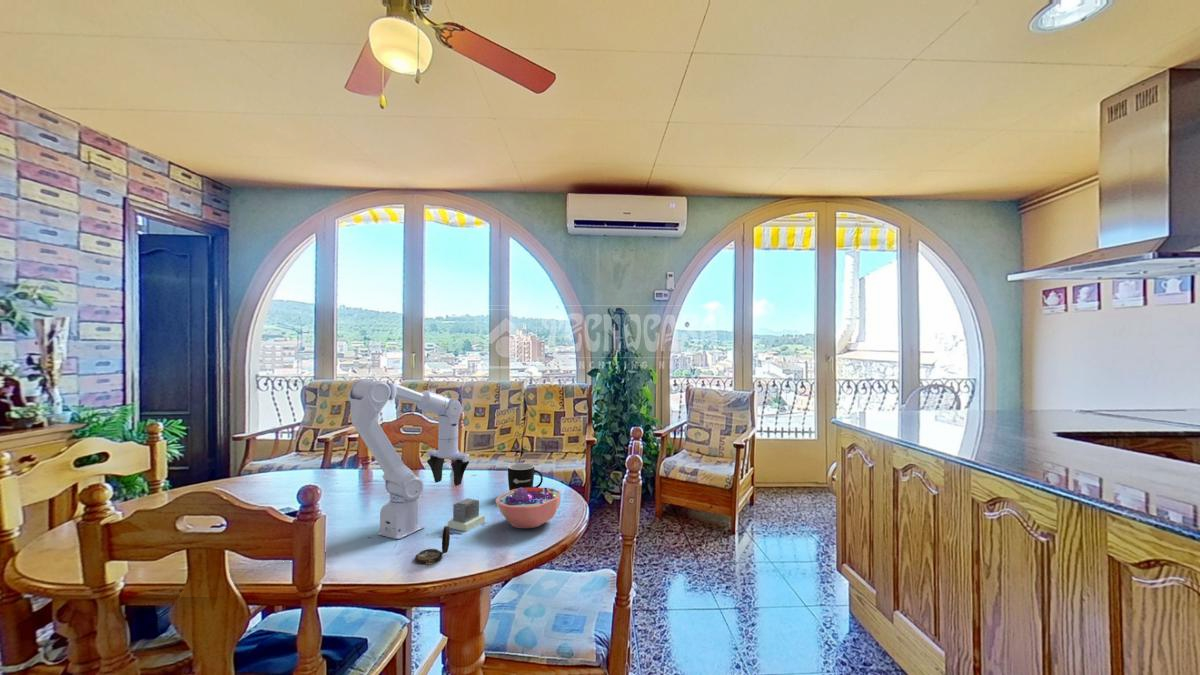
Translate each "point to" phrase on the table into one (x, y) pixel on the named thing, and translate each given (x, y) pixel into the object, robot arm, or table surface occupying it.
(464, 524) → the stand
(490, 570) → the table surface
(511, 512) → the cell model
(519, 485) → the mug
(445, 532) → the compass
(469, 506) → the block
